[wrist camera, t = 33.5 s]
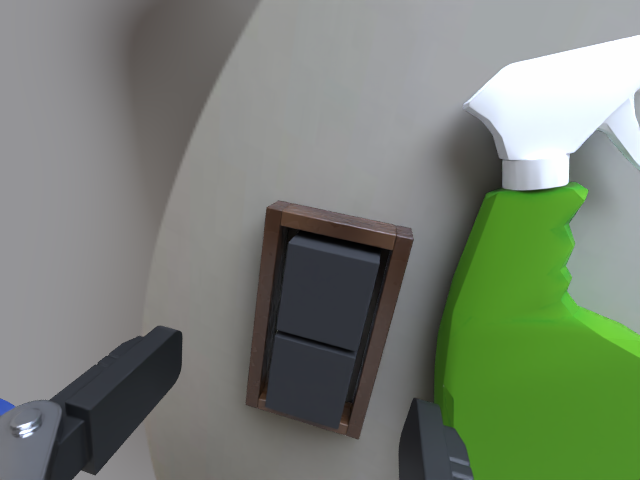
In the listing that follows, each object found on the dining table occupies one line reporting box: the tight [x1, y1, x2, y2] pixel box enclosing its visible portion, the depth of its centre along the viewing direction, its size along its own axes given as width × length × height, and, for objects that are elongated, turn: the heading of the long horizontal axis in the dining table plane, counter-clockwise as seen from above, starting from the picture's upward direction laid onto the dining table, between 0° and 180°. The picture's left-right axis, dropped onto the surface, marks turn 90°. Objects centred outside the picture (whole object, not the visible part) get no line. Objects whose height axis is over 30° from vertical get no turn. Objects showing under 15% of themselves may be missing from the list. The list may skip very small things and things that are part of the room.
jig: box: [246, 201, 414, 439], centre depth 19 cm, size 7×13×2 cm, turn 171°
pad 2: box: [265, 330, 357, 429], centre depth 19 cm, size 4×5×3 cm
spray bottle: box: [434, 35, 640, 480], centre depth 16 cm, size 3×11×24 cm
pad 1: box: [276, 230, 381, 352], centre depth 17 cm, size 4×5×3 cm
